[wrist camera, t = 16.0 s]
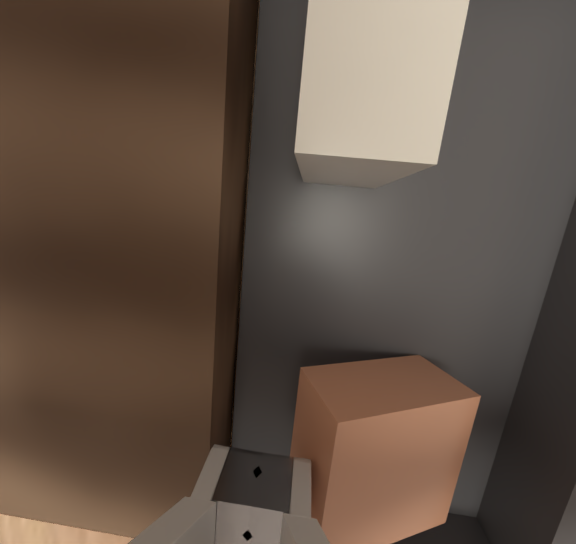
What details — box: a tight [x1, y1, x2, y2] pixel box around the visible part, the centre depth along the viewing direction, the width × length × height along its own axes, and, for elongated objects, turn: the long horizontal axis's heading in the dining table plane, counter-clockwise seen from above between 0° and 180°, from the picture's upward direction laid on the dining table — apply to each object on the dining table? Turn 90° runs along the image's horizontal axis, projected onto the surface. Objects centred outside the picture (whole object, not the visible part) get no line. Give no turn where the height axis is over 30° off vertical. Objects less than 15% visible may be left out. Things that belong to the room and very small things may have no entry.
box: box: [232, 0, 576, 544], centre depth 9 cm, size 22×12×4 cm, turn 175°
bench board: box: [0, 0, 258, 538], centre depth 10 cm, size 22×10×3 cm, turn 175°
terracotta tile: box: [290, 355, 481, 544], centre depth 9 cm, size 5×5×2 cm
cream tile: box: [294, 0, 470, 189], centre depth 7 cm, size 5×5×2 cm
